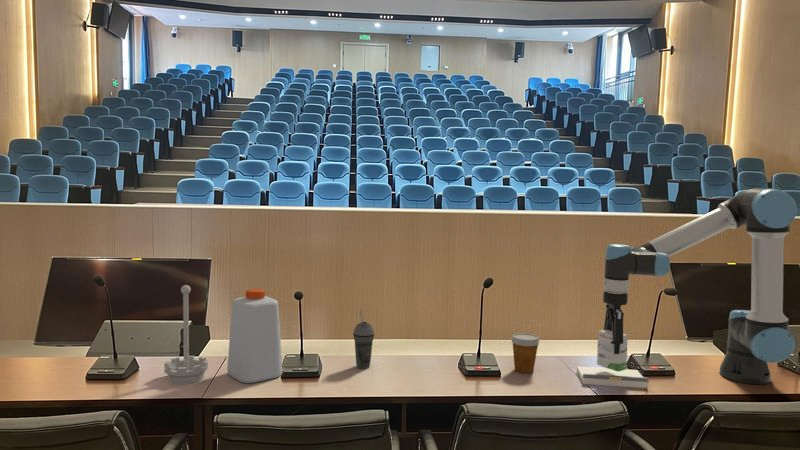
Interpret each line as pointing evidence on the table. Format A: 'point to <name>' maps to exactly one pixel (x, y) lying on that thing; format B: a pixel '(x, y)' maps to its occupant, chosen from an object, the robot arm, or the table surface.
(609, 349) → the ink box
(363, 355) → the beverage cup
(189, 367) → the flag stand
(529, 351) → the disposable coffee cup
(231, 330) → the plastic bottle
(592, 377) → the white slab
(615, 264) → the robot arm
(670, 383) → the table surface
